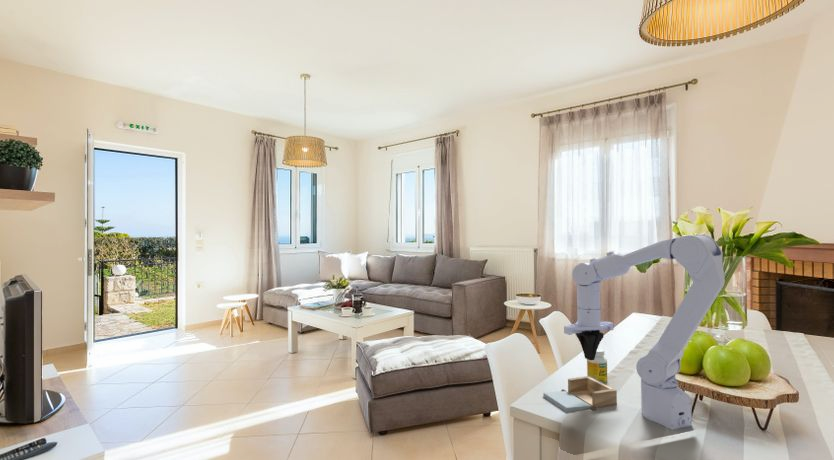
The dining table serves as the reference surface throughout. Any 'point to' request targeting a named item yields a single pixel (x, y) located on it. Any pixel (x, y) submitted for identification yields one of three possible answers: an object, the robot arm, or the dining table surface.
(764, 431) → the dining table surface
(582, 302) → the robot arm
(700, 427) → the dining table surface
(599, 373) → the supplement bottle
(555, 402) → the panel
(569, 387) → the crate
